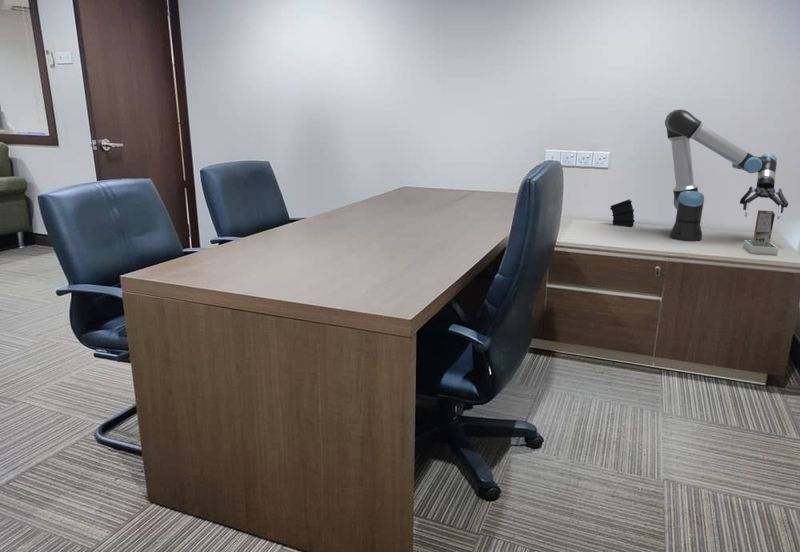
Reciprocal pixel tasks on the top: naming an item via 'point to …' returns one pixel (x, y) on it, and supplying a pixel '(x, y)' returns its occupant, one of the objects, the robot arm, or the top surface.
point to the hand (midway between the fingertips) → (762, 216)
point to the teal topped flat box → (760, 248)
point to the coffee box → (763, 228)
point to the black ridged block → (623, 214)
